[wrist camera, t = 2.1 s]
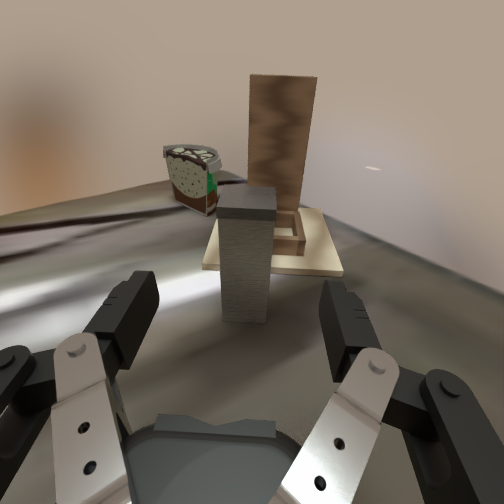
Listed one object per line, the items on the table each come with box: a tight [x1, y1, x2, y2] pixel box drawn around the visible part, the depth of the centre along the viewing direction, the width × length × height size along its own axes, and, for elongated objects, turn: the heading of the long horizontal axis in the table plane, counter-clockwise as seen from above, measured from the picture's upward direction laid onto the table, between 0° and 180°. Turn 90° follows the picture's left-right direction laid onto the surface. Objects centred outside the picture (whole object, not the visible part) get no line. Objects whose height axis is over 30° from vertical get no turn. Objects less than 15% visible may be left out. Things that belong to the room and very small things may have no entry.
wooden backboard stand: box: [202, 74, 343, 277], centre depth 36 cm, size 18×18×21 cm
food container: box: [163, 144, 222, 217], centre depth 48 cm, size 12×6×10 cm, turn 50°
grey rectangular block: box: [216, 185, 277, 324], centre depth 26 cm, size 5×5×13 cm
